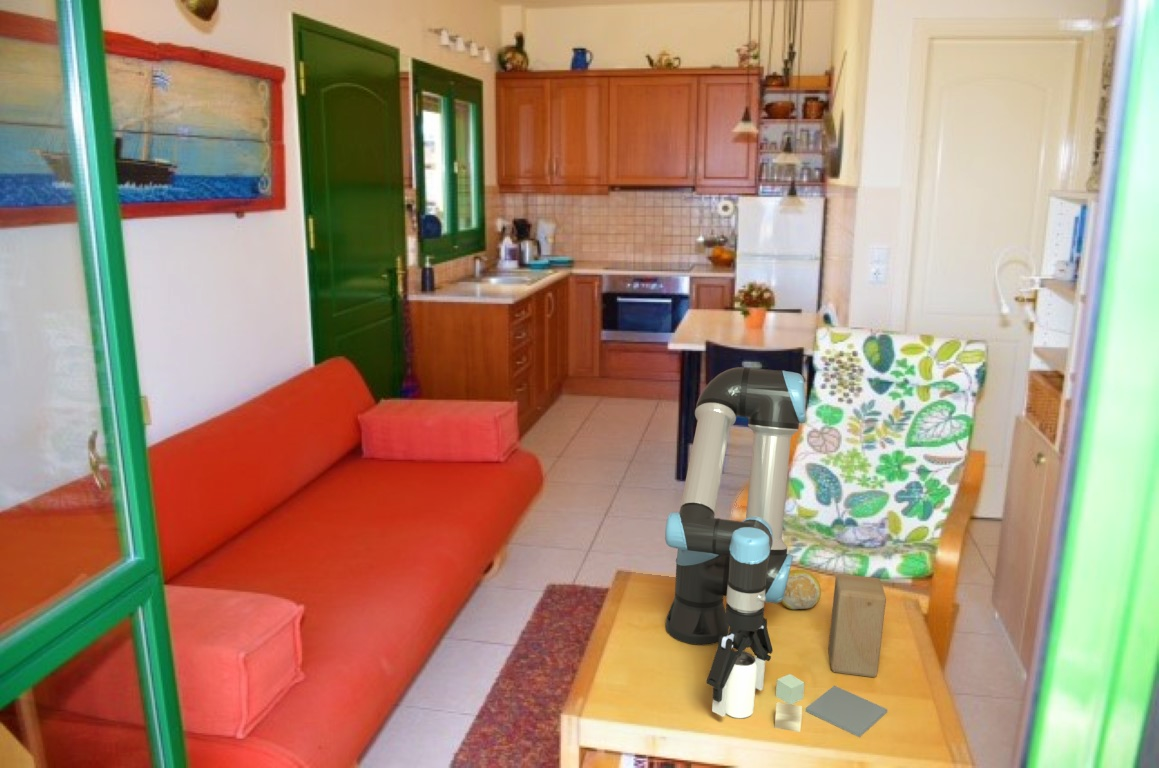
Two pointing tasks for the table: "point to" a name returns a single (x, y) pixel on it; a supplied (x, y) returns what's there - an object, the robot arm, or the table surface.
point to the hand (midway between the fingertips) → (738, 700)
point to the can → (741, 687)
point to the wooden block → (856, 625)
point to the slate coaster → (846, 710)
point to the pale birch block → (788, 717)
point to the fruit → (801, 590)
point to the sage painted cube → (790, 689)
